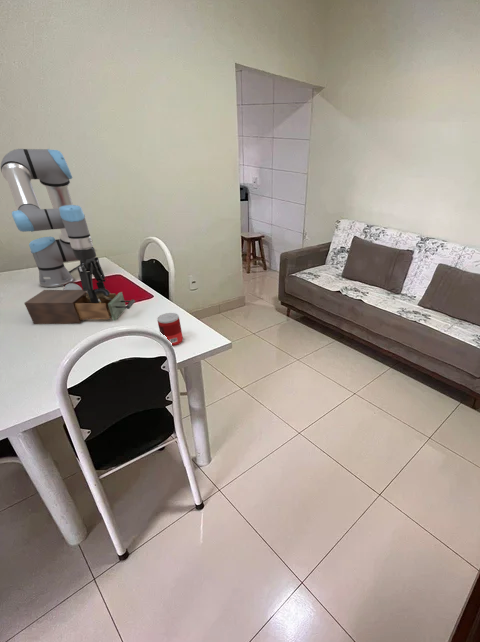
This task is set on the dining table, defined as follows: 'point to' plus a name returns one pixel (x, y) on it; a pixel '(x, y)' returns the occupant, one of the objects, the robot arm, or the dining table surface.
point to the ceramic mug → (72, 287)
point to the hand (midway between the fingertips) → (99, 300)
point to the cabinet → (55, 307)
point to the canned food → (170, 327)
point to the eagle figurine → (100, 294)
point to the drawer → (102, 307)
